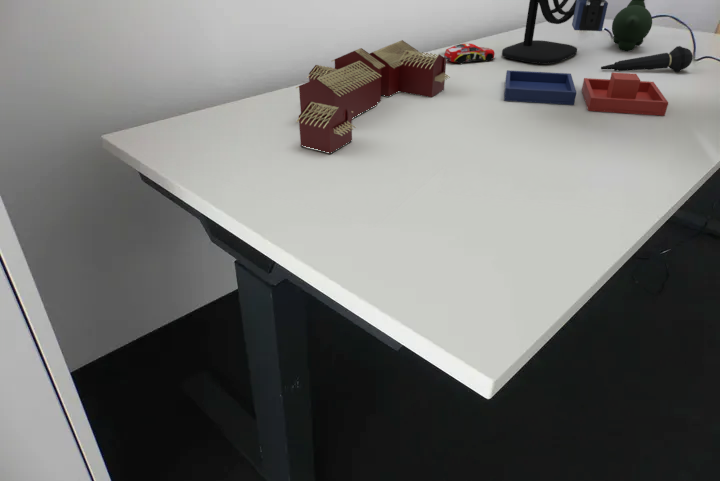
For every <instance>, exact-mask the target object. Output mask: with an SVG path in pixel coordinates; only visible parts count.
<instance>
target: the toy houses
mask: <svg viewBox="0 0 720 481" xmlns="http://www.w3.org/2000/svg"><path fill="white" fill-rule="evenodd" d="M330 61H331V62H334V67H331V66H325V65H321V64H315V65H314V66H313V68H311V70H310V71H309V73H308V76H307V77H306V79H308V81H307V82H305V83H303V84H299V85H298V86H295V89H298V92H299V106H300V113H299V115H298V119H297V120H296V123H298V128H299V140H300V146H301V145H303V146H306V147H310V148H314V149H318V150H321V151H325V152H329V153H331V152H333V151H335V150H336V149H338V148H340V147H341V146H343V145H345V144H346V143H348V142H350V141H351V140H352V141H353V130H354V129H356V128H357V127H356V125H354V124H353V122H352V121H353V119H352V118H353V117H355V116H357V115H358V114H360V113H362V112H364V111H366V110H368V109H370V108H371V107H373V106H375V105H377V106H378V103H377V102H379V101H381V102H382V96H381V95H385V96H390V95H392V94H394V93H395V94H397V93H399V92H398V91H401V92H400V93H404V92H406V93H405V94H410V93H411V94H410V95H415V94H416V96H421V95H422V96H421V97H427V96H428V98H434V97H435V96H436V95H439V94H440V93H441V92H443V91H444V90H445V81H447V80H448V79H449V78H451V76H450V75H449V74H446V71H447V70H446V69H447V67H446V66H447V61H448V60H447V59H446V58H444V56H442V55H441V54H440V53H439V54H436V53H434V54H433V53H431V52H430V53H429V52H423V51H422V52H420V51H419V50H418V49H416V48H415V47H413V46H412V45H410V44H409V43H408V42H406V41H405V40H403V39H401V40H399V41H396V42H394V43H391V44H389V45H386V46H384V47H382V48H379V49H377V50H374V51H372V52H370V53H369V52H368V51H366V50H365V49H363V48H362V47H360V48H358V49H355V50H353V51H350V52H348V53H346V54H344V55H342V56H338V57H337V58H334V59H332V60H330ZM442 90H443V91H442ZM396 92H397V93H396ZM439 92H440V93H439ZM395 94H394V95H395ZM385 96H384V97H385ZM392 96H393V95H392ZM390 97H391V96H390ZM379 103H380V102H379ZM370 110H371V109H370ZM350 143H351V142H350ZM348 144H349V143H348ZM345 146H346V145H345ZM343 147H344V146H343ZM340 149H341V148H340ZM338 150H339V149H338ZM335 152H336V151H335Z"/></svg>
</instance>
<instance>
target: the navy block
mask: <svg viewBox="0 0 720 481" xmlns="http://www.w3.org/2000/svg"><path fill="white" fill-rule="evenodd" d="M586 1H587V0H577V1H576V6H575V11H574V15H573V16H572V22H571V26H572V28H573V30H574V31H581V30H580V28H579V27H580V22H581V17H582V12H583V7H584V5H586ZM608 5H609V2H608V1H607V0H605V1H604V5H603V6H604V8H603V13H602V18H601V22H600V27H599V30H597V31H596V32H603V29H604V28H603V27H604V23H605V19H606V15H607V9H608ZM582 31H584V32H585V31H586V32H588V31H589V32H591V31H590V30H582Z"/></svg>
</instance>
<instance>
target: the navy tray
mask: <svg viewBox="0 0 720 481" xmlns="http://www.w3.org/2000/svg"><path fill="white" fill-rule="evenodd" d="M576 97H577V89H576V86H575V82H574V79H573V75H572V73H569V72H566V73H565V72H550V71H549V72H548V71H547V72H546V71H531V70H528V71H527V70H509V69H508V70H506V73H505V80H504V94H503V101H504V102H518V103H533V104H534V103H535V104H549V105H550V104H551V105H564V106H565V105H566V106H575V102H576Z"/></svg>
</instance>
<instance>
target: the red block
mask: <svg viewBox="0 0 720 481" xmlns="http://www.w3.org/2000/svg"><path fill="white" fill-rule="evenodd" d="M609 79H610V82H609V86H608V91H607V97H608V98H621V99H636V95H637V92H638V88H639V84H640V81H641V79H640V77H639V75H638V74H637V73H628V72H611V75H610V78H609Z"/></svg>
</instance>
